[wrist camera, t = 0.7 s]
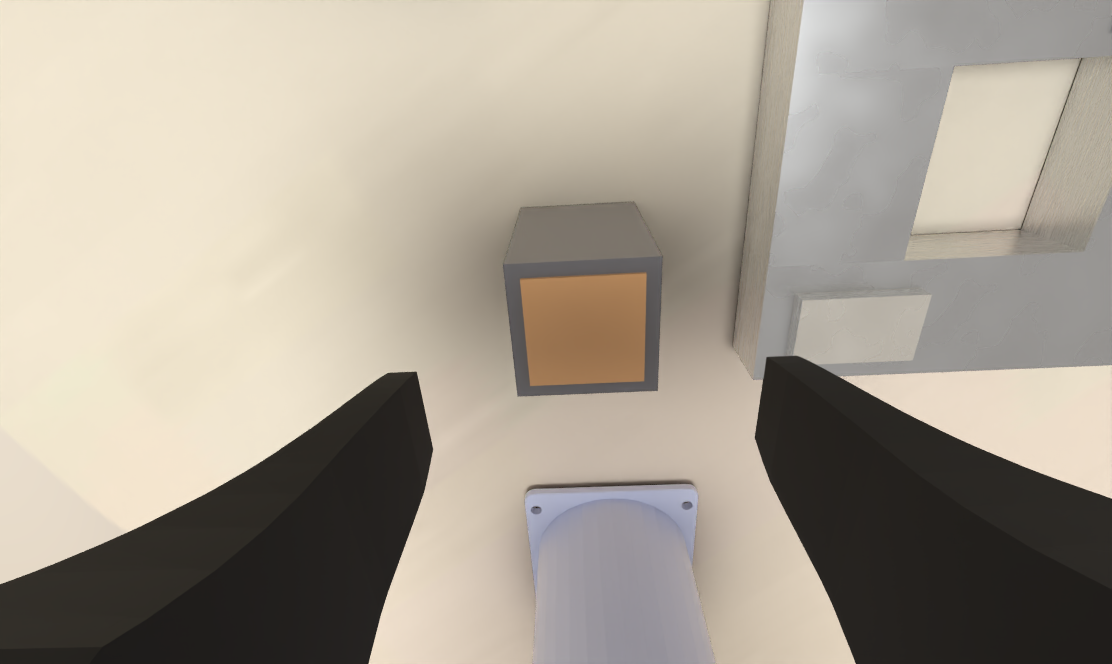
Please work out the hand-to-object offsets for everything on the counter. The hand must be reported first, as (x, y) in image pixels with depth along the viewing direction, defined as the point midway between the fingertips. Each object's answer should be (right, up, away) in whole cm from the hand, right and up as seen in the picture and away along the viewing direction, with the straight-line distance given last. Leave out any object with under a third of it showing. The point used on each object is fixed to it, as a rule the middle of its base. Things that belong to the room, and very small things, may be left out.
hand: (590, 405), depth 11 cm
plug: (0, +4, +8) cm, 9 cm away
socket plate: (+13, +7, +6) cm, 16 cm away
